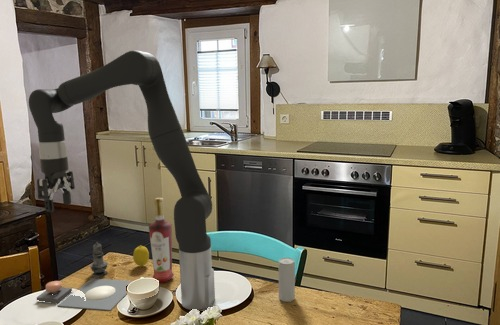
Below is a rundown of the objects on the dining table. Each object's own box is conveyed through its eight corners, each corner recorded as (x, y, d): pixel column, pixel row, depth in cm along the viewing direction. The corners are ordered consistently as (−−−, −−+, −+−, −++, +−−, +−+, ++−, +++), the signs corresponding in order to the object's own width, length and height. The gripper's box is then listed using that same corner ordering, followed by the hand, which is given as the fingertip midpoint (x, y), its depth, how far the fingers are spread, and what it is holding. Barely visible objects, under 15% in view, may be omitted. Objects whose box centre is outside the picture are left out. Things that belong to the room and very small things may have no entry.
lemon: (147, 269, 141) (146, 248, 140) (132, 269, 141) (130, 248, 140) (151, 263, 147) (150, 242, 145) (136, 263, 147) (135, 242, 145)
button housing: (72, 292, 125) (71, 287, 125) (57, 303, 119) (57, 298, 118) (52, 290, 127) (51, 286, 126) (37, 301, 120) (36, 297, 120)
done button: (65, 289, 124) (64, 281, 124) (56, 296, 120) (55, 287, 119) (52, 289, 125) (51, 280, 124) (43, 295, 121) (42, 286, 120)
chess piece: (102, 278, 135) (99, 244, 133) (87, 277, 136) (84, 244, 134) (111, 271, 141) (109, 238, 139) (96, 270, 142) (94, 237, 140)
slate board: (138, 282, 131) (138, 281, 131) (110, 310, 114) (110, 309, 114) (91, 279, 134) (91, 278, 134) (57, 306, 117) (57, 305, 117)
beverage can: (285, 293, 122) (285, 256, 120) (298, 298, 119) (298, 260, 117) (275, 298, 119) (275, 260, 117) (287, 304, 115) (287, 265, 114)
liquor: (177, 275, 136) (173, 195, 132) (170, 285, 129) (165, 201, 124) (157, 274, 137) (152, 195, 133) (148, 284, 130) (143, 201, 125)
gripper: (49, 159, 113) (55, 215, 115) (78, 152, 126) (83, 202, 129) (25, 159, 114) (32, 214, 116) (57, 153, 128) (62, 201, 130)
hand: (59, 207), depth 123 cm, fingers open, 8 cm apart
